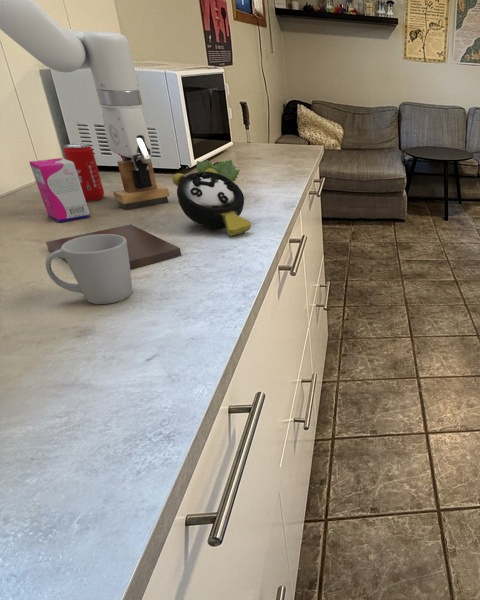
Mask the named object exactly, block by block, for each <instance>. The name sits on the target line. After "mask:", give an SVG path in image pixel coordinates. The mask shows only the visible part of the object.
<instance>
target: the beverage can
mask: <svg viewBox="0 0 480 600" xmlns="http://www.w3.org/2000/svg"><path fill="white" fill-rule="evenodd" d="M63 153H64V157H65V159H66V160H69V161H72V162H74V165H75V168H76V172H77V175H78V178H79V181H80V184H81V188H82V191H83V194H84V197H85V200H86V202H91V201H93V202H94V201H100V200H102V199H104V195H105V191H104V187H103V183H102V179H101V176H100V171H99V168H98V164H97V161H96V158H95V154H94V150H93V148H92V147H91V144H89V143H68V144H67V143H66V144H64V145H63Z"/></svg>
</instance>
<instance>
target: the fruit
mask: <svg viewBox="0 0 480 600" xmlns="http://www.w3.org/2000/svg"><path fill="white" fill-rule="evenodd" d="M195 168H196V171H197V172H205V171H206V169H209V168H212V169H214V170H216V172H217V174H220V175H222V176H225V177H227V178H228V179H230V180H231V181H232V182H236V181H237V178H238V176H239V174H240V170H241V169H236V168H237V166H236V165H235V166H234V164H233V160H232V159H229V160H227V159H226V160H225V161H224V160H223V161H216V162H214V163H212V162H211V161H210V160H208V159H205V160H202V161H199V160H197V161H196V167H195ZM197 172H196V173H197ZM236 185H237V186H238V187H239V185H238V184H236Z"/></svg>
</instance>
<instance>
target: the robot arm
mask: <svg viewBox="0 0 480 600" xmlns="http://www.w3.org/2000/svg"><path fill="white" fill-rule="evenodd" d="M0 31H2V32H3V33H4V34H5V35H7V36H8V38H10V39H11V40H13V41H14V42H15V43H16V44H17V45H18V46H20V47H21V48H22V49H23V50H25V51H26V52H27V53H28V54H30V55H31V56H32V57H33V58H34V59H36V60H37V61H39V62H40V63H41V64H42V65H44V66H45V67H47V68H49V69H51V70H53V71H55V72H58V73H72V72H75V71H78V70H83V69H84V70H85V69H90V71H91V75H92V79H93V82H94V83H93V84H94V87H95V89H96V94H97V98H98V102H99V106H100V107H101V113H102V121H103V126H104V130H105V137H106V140H107V145H108V148H109V150H110V151H111V152H112V153H114V154H117V155H119V156H120V158H121V161H126V160H131V161H132V165H133V169H134V170H133V171H132V173H133V177H134V181H135V185H136V188H138V189H141V188H148V187H152V183H151V179H150V174H149V166H148V163H149V162H152V158H151V155H152V153H153V148H152V142H151V138H150V134H149V130H148V127H147V123H146V120H145V117H144V114H143V111H142V108H143V102H142V97H141V92H140V87H139V84H138V79H137V74H136V70H135V69H136V68H135V65H134V64H135V63H134V60H133V56H132V51H131V46H130V42H129V39H128V38H127V36H125V35H124V34H121V33H118V32H110V31H100V30H99V31H98V30H97V31H94V30H89V31H81V30H80V31H78V30H74V29H69V28H65V27H63V26H62V25H61V24H60V23H59V22H57V21H56V19H54V18H53V17H52V16H51V15H49V14H48V13H47V11H46V10H45V9H44V8H42V7H41V6H40V5H39V4H38V3H36V2H35V0H0ZM136 159H138V160H137V161H136Z"/></svg>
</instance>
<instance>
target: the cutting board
mask: <svg viewBox="0 0 480 600" xmlns="http://www.w3.org/2000/svg"><path fill="white" fill-rule="evenodd" d="M97 234H114V235H120V236H123V237H124V238H125V239H126V241H127V249H128V256H129V263H130V270H133V269H137V268H142V267H146V266H148V265H152V264H155V263H159V262H163V261H167V260H170V259H174V258H177V257H181V256H182V252H181V251H182V250H181V248H180V247H179V246H177V245H175V244H173V243H171V242H168V241H166V240H164V239H162V238H161V237H158V236H156V235H155V234H152V233H149V232H148V231H146V230H144V229H142V228H139V227H137V226H136V225H133V224H131V223H130V224H125V225H121V226H116V227H111V228H106V229H102V230H97V231H92V232H86V233H83V234H77V235H71V236H68V237H63V238H58V239H53V240H49V241H45V244H46V247H47V249H48V251H50V252H51V253H53V252H55V251H57V250H59V249H61V247H62V245H63V244H64V243H66V242H68V241H70V240H72V239H75V238H79V237H83V236H89V235H97ZM60 259H62V260H63V261H65V262H67V260H66V258H63V257H60Z"/></svg>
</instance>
